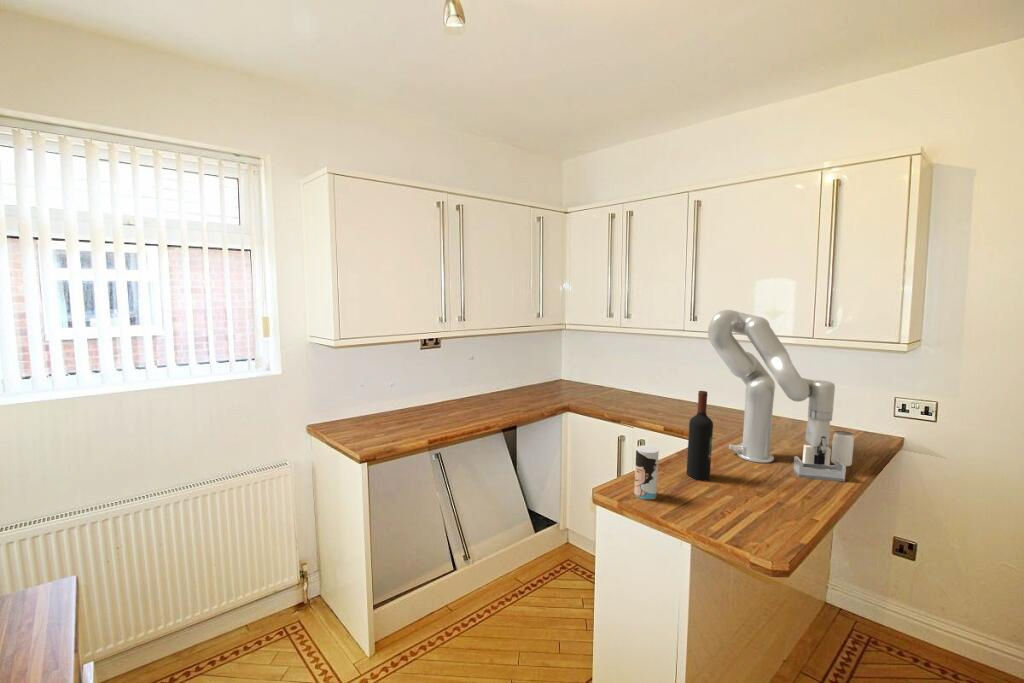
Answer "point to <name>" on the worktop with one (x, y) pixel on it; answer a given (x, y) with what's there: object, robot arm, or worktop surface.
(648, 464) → the cup
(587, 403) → the worktop surface
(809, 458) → the plain white block
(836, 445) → the can
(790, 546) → the worktop surface
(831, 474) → the track
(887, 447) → the worktop surface
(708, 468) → the wine bottle
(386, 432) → the worktop surface
